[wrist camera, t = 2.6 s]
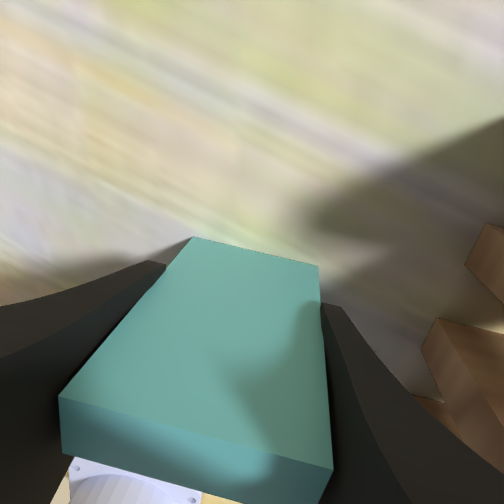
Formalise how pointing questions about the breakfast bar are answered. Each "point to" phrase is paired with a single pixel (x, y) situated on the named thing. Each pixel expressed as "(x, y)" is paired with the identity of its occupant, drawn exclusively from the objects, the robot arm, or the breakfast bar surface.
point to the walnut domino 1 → (470, 383)
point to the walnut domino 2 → (489, 259)
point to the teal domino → (212, 381)
